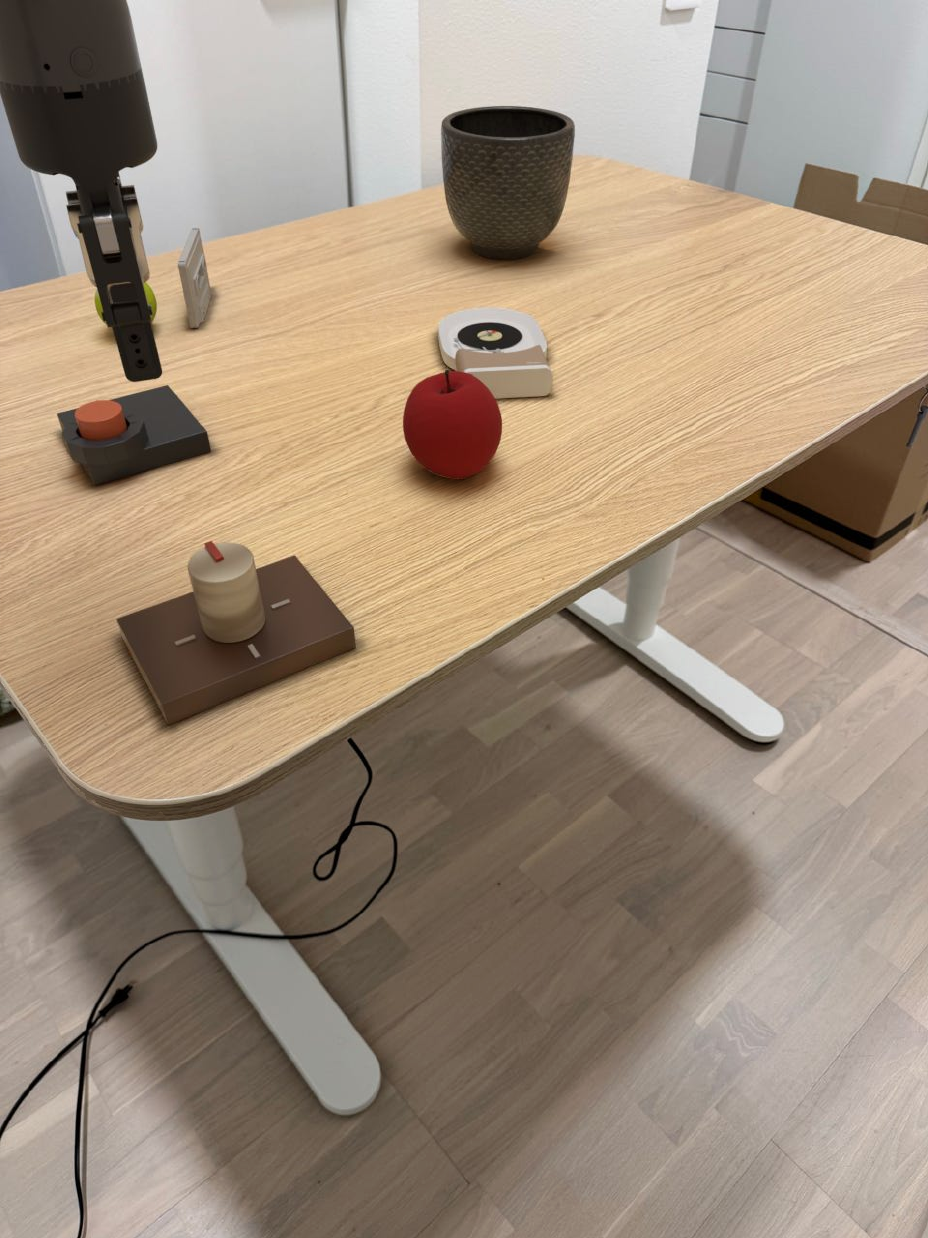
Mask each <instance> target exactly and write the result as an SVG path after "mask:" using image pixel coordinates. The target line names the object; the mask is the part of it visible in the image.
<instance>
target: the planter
mask: <svg viewBox="0 0 928 1238" xmlns="http://www.w3.org/2000/svg"><path fill="white" fill-rule="evenodd" d="M575 138H576V125H575V122H574V120H573V119H572V118H571V117H570V116H568V115H566V114H563V113H561V112H558V111H556V110H555V111H554V110H551V109H545V108H541V107H540V108H539V107H533V106H521V105H492V106H480V107H471V108H466V109H462V110H461V109H460V110H458V111H454V112H452V113H450V114H448V115H446V116H445V117H444V118H443V119H442V120H441V125H440V141H441V142H440V145H441V147H440V148H441V149H440V150H441V151H440V153H441V155H440V156H441V157H440V159H441V170H442V181H443V190H444V197H445V202H446V207H447V211H448V214H449V217H450V219H451V221H452V224H453V226H454V227H455V229H456V230H457V232H458V233H459V234H460V235H461V236H462V237H463V238H464V239H465V241H468V242H469V245H470V248H471V249H472V250H473V252H474V253H476V254H477V255H479V256H481V257H484V258H487V259H492V260H500V261H501V260H504V261H505V260H507V261H508V260H510V261H511V260H519V259H523V258H526V257H527V258H528V257H529V256H531V255H533V254H534V253H535V252H536V250H537V249H538V247H539V245H540V244H541V243H542V242H543V241H544V240H545V239H547V238H548V237H549V236H550V235H551V234H552V232H553V231H554V230H555V228H556V227H557V226H558V224H559V223H560V221H561V217H562V215H563V212H564V209H565V206H566V201H567V198H568V192H569V187H570V181H571V180H570V179H571V173H572V167H573V161H574V160H573V159H574V147H575Z"/></svg>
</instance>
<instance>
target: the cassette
mask: <svg viewBox="0 0 928 1238" xmlns="http://www.w3.org/2000/svg"><path fill="white" fill-rule="evenodd" d="M177 268H178V274H179V278H180V284H181V289H182V292H183V293H182V294H183V298H184V303H185V308H186V312H187V317H188V318H187V319H188V322H189V323H188V324H189V327H190V329H199V327H200V324H201V323H204V321H205V318H206V314H207V310H208V308H209V305H210V301H211V299H212V292H211V285H210V278H209V273H208V266H207V261H206V255H205V252H204V247H203V241H202V236H201V229H200V227H195V228H193V227H192V228H191V229H190V231H189V234H188V237H187V239H186V242H185V244H184V245H183V249H182V251H181V253H180V256H179V258H178V260H177Z"/></svg>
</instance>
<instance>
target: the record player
mask: <svg viewBox="0 0 928 1238" xmlns="http://www.w3.org/2000/svg"><path fill="white" fill-rule="evenodd" d="M437 341H438V345H439V351H440V354H441V357H442V361H443V362H444V364H445V365H446V366H447V367H449V368H451V369H452V371H459V372H465V373H469V374H472V375H473V376H475V377H476V378H477V379H479V380H480V381H481V382H482V383H484V384H485V385H486V386H487V387H488V388H489V390H490V391H491V393H492V395H493V396H494V398H495V400H497V399H516V398H534V397H547V396H548V395H549V394H550V393H551V391H552V388H553V382H554V381H553V380H554V378H553V377H554V376H553V373H552V370H551V367H550V366H549V362H548V360H547V355H548V354H547V353H548V342H547V340H546V337H545V334H544V332H543V329H542V328H541V325H540V323H539V322H538V321H537V320H536V319H535V318H534V317H533V316H531V315H529V314H527V313H526V312H525V313H524V312H522V311H520V310H515V309H510V308H505V307H491V306H489V307H488V306H487V307H486V306H485V307H483V306H482V307H473V308H466V309H461V310H458V311H455V312H452V313H450V314H447V315H446V316H444V317H443V318H442V319H441V320H440V321H439V323H438V325H437Z"/></svg>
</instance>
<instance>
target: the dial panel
mask: <svg viewBox="0 0 928 1238" xmlns="http://www.w3.org/2000/svg"><path fill="white" fill-rule="evenodd" d="M256 571H257V577H258V582H259V587H260V592H261V597H262V603H263V608H264V613H265V623H264V625H263V627H262V629H261V630H260V631H259V632H258V633H257V634H255V635H254V636H252V637H250V638H248V639H246V640H243V641H240V642H234V643H223V642H218V641H215V640H212V639H211V638H209V637H208V636H207V635H206V634H205V633H204V631H203V627H202V623H201V619H200V616H199V612H198V608H197V604H196V600H195V596H194V592H193V591H190V592H187V593H184V594H182V595H180V596H177V597H174V598H171V599H168V600H165V601H163V602H159V603H157V604H154V605H151V606H149V607H146V608H142V609H140V610H138V611H134V612H132V613H129V614H126V615H124V616H120V617H118V618H116V620H115V621H116V624H117V625H118V630H119V632H120V635H121V638H122V640H123V642H124V644H125V646H126V647H127V648H126V649H127V650H128V652H129V654H130V655H131V657H132V659H133V661H134V663H135V665H136V667H137V669H138V671H139V672H140V675H141V676H142V678H143V680H144V683H145V684H146V686H147V688H148V690H149V692H150V693H151V695H152V698H153V699H154V701H155V703H156V705H157V707H158V708H159V711H160V712H161V715H162V716H163V719H164V720H165V722H166V724H167V725H168V726H170V725H172V724H174V723H177V722H179V721H182V720H185V719H186V718H187V719H188V718H189V717H191V716H194V715H197V714H199V713H201V712H204V711H206V710H208V709H211V708H213V707H216V706H218V705H221V704H223V703H225V702H227V701H228V702H229V701H230V700H232V699H235V698H237V697H239V696H242V695H245V694H247V693H250V692H251V691H254V690H256V689H259V688H261V687H264V686H266V685H269V684H272V683H274V682H276V681H278V680H281V679H283V678H286V677H288V676H290V675H293V674H295V673H297V672H300V671H302V670H305V669H307V668H310V667H312V666H315V665H317V664H319V663H322V662H324V661H327V660H329V659H332V658H333V657H336V656H338V655H342V654H343V653H346V652H349V651H350V650H353V649H355V648H356V647H357V645H356V634H355V626H353V624H352V623H351V622H350V620H349V619H348V617H346V616H345V614H344V613H343V612H342V611H341V609H340V608H338V605H336V603H335V602H334V601H333V600H332V598H330V596H329V595H328V594H327V593H326V591H325V590H324V589H323V588H322V586H321V585H320V584H319V583H318V582H317V580H316V579H315V578H314V577H313V575H312V574H311V573H310V572H309V571H308V570H307V568H306V567H305V565H304V564H303V563H302V562H301V560H300V559H298V557H297V556H296V554H295V555H291V556H288V557H286V558H282V559H280V560H277V561H274V562H271V563H268V564H266V565H263V566H260V567H256Z"/></svg>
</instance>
